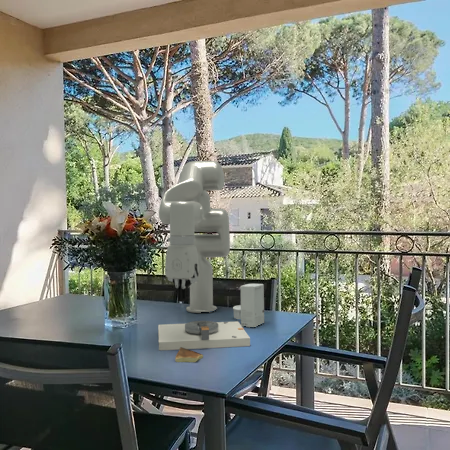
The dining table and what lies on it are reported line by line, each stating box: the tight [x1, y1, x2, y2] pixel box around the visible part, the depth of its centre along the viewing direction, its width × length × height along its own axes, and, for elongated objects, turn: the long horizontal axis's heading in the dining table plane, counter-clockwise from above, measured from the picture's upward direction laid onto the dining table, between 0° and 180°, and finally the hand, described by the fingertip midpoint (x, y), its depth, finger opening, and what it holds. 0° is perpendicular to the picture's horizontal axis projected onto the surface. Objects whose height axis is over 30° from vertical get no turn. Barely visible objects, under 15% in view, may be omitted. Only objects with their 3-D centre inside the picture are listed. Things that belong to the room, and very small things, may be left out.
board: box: [157, 320, 251, 351], centre depth 160 cm, size 22×28×3 cm
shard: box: [174, 347, 204, 363], centre depth 142 cm, size 11×8×2 cm
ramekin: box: [232, 304, 241, 320], centre depth 189 cm, size 9×9×4 cm
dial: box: [184, 320, 218, 340], centre depth 157 cm, size 18×11×4 cm, turn 8°
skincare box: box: [240, 283, 265, 328], centre depth 178 cm, size 8×6×15 cm
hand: (182, 300), depth 151 cm, fingers closed
